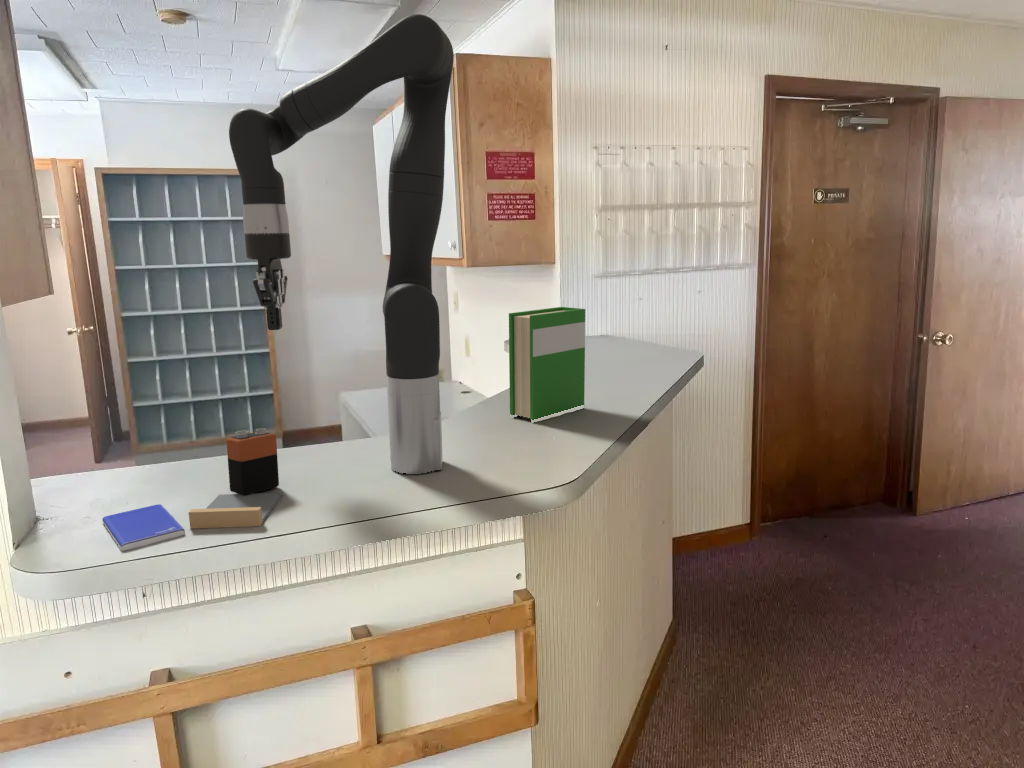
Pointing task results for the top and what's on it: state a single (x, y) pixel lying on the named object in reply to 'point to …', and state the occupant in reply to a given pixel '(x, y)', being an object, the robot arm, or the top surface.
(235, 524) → the dough scraper
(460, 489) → the top surface
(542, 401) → the hardback book
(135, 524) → the hard drive
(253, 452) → the battery
